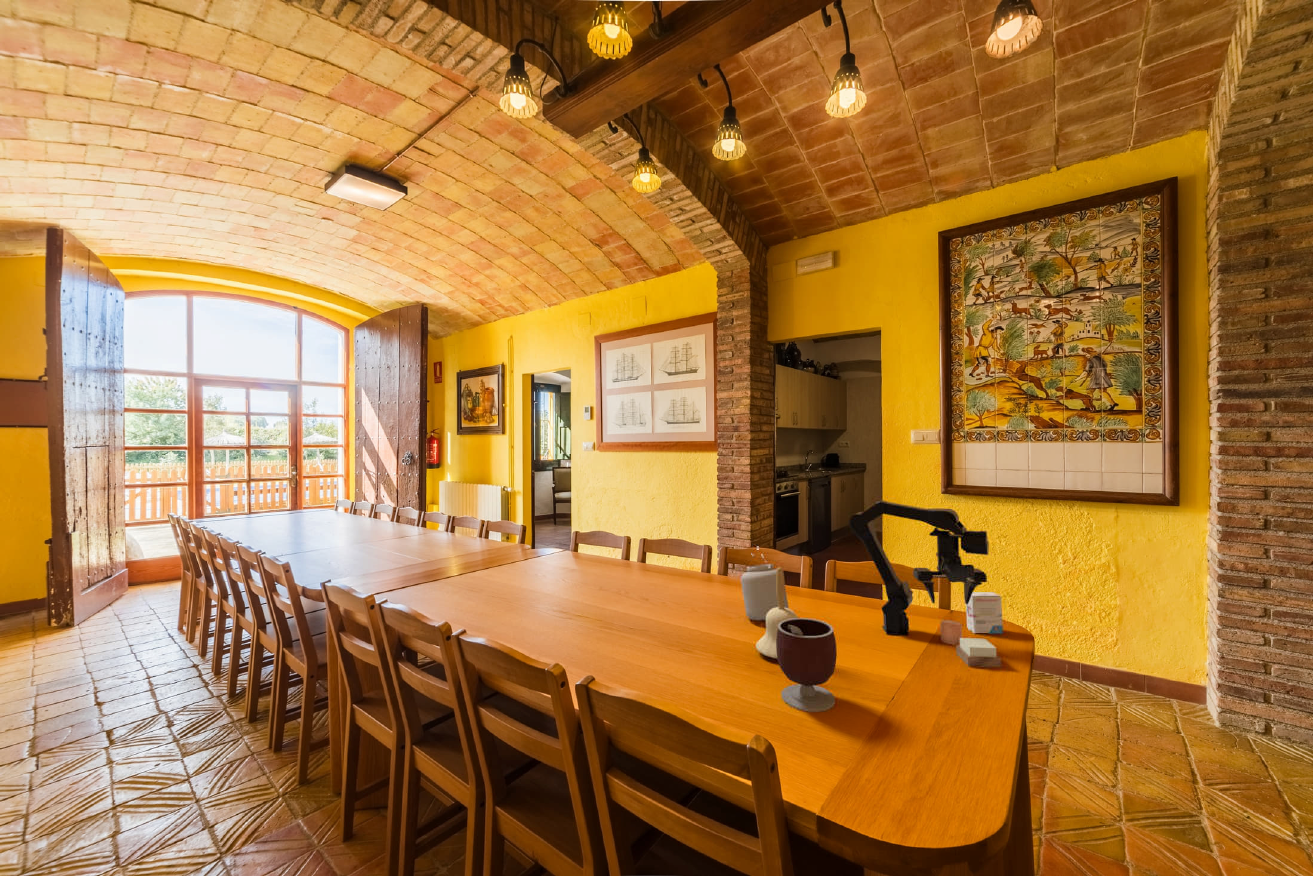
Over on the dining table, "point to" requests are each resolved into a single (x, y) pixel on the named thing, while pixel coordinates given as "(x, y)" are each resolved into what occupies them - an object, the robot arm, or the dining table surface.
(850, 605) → the dining table surface
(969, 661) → the walnut slab
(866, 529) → the robot arm
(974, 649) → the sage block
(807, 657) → the mate gourd
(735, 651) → the dining table surface
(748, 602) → the jar
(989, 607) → the ink box
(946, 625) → the terracotta cylinder
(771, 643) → the handbell
